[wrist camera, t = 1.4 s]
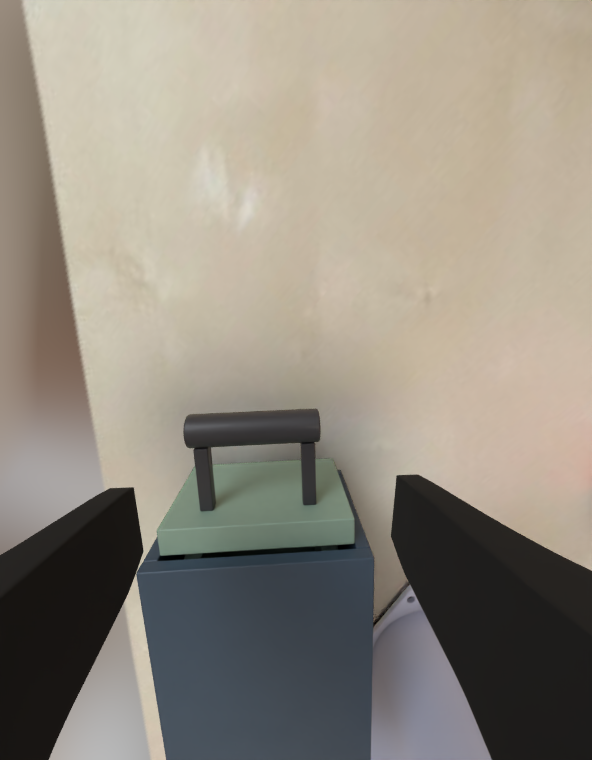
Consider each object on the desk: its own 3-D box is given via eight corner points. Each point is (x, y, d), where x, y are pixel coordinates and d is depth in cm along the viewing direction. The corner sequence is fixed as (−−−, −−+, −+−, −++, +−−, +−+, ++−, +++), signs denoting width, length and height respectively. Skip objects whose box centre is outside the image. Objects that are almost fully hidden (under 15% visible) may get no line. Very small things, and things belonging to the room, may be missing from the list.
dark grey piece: (190, 477, 19) (135, 573, 12) (340, 469, 19) (374, 558, 12) (207, 628, 21) (169, 785, 14) (341, 618, 21) (371, 767, 14)
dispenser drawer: (187, 392, 17) (141, 428, 11) (332, 386, 17) (354, 417, 12) (211, 613, 20) (183, 726, 14) (334, 604, 20) (354, 712, 15)
